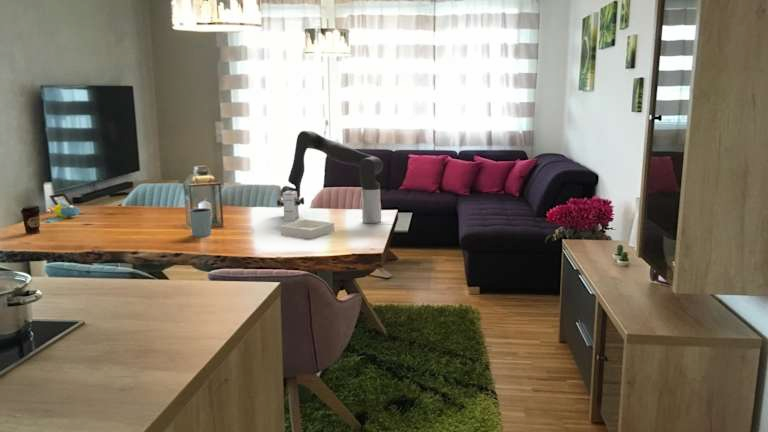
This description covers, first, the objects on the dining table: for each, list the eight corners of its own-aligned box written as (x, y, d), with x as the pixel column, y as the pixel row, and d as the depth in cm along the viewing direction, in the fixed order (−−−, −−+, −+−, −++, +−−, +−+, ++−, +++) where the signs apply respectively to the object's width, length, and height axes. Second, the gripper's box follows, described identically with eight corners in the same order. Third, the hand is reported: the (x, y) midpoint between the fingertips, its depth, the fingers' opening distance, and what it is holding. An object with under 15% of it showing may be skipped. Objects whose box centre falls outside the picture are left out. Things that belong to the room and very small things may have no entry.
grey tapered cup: (193, 237, 301) (191, 212, 298) (188, 233, 310) (187, 209, 307) (215, 235, 305) (213, 210, 303) (210, 231, 314) (208, 207, 312)
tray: (305, 227, 321) (304, 219, 320) (334, 231, 312) (334, 222, 311) (281, 234, 306) (280, 226, 305) (311, 238, 297) (310, 230, 296)
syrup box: (295, 221, 322) (293, 192, 319) (284, 221, 323) (282, 192, 320) (298, 218, 327) (297, 190, 324) (287, 218, 328) (286, 190, 326)
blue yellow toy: (67, 198, 367) (91, 199, 364) (68, 213, 368) (93, 214, 366) (33, 207, 339) (59, 208, 337) (35, 223, 341) (61, 224, 339)
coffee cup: (47, 231, 318) (44, 205, 315) (33, 235, 310) (30, 208, 308) (33, 230, 321) (30, 204, 318) (19, 234, 313) (16, 207, 310)
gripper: (276, 192, 336) (275, 197, 320) (303, 190, 338) (304, 195, 322) (277, 206, 337) (276, 212, 321) (304, 204, 339) (305, 210, 323)
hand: (290, 204), depth 321 cm, fingers closed on syrup box, 7 cm apart
